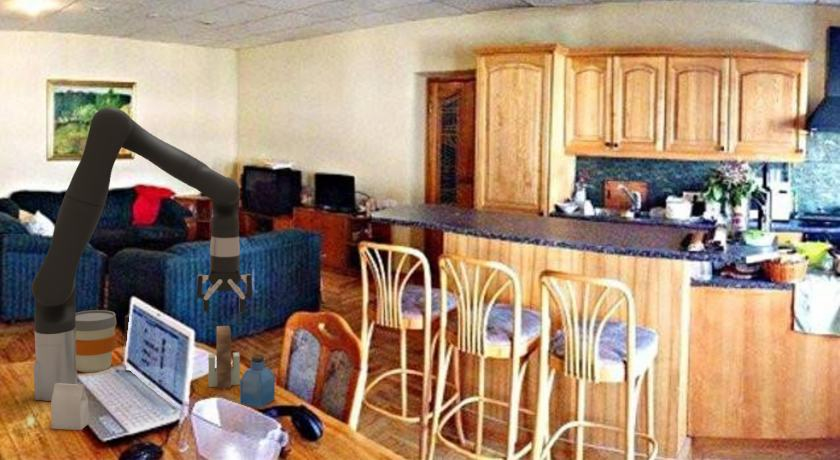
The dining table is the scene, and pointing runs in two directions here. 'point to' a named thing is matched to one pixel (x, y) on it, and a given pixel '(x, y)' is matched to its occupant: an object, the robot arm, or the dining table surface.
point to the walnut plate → (224, 356)
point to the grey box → (69, 407)
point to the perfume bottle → (257, 383)
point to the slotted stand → (234, 370)
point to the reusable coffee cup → (94, 339)
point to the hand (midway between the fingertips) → (224, 312)
